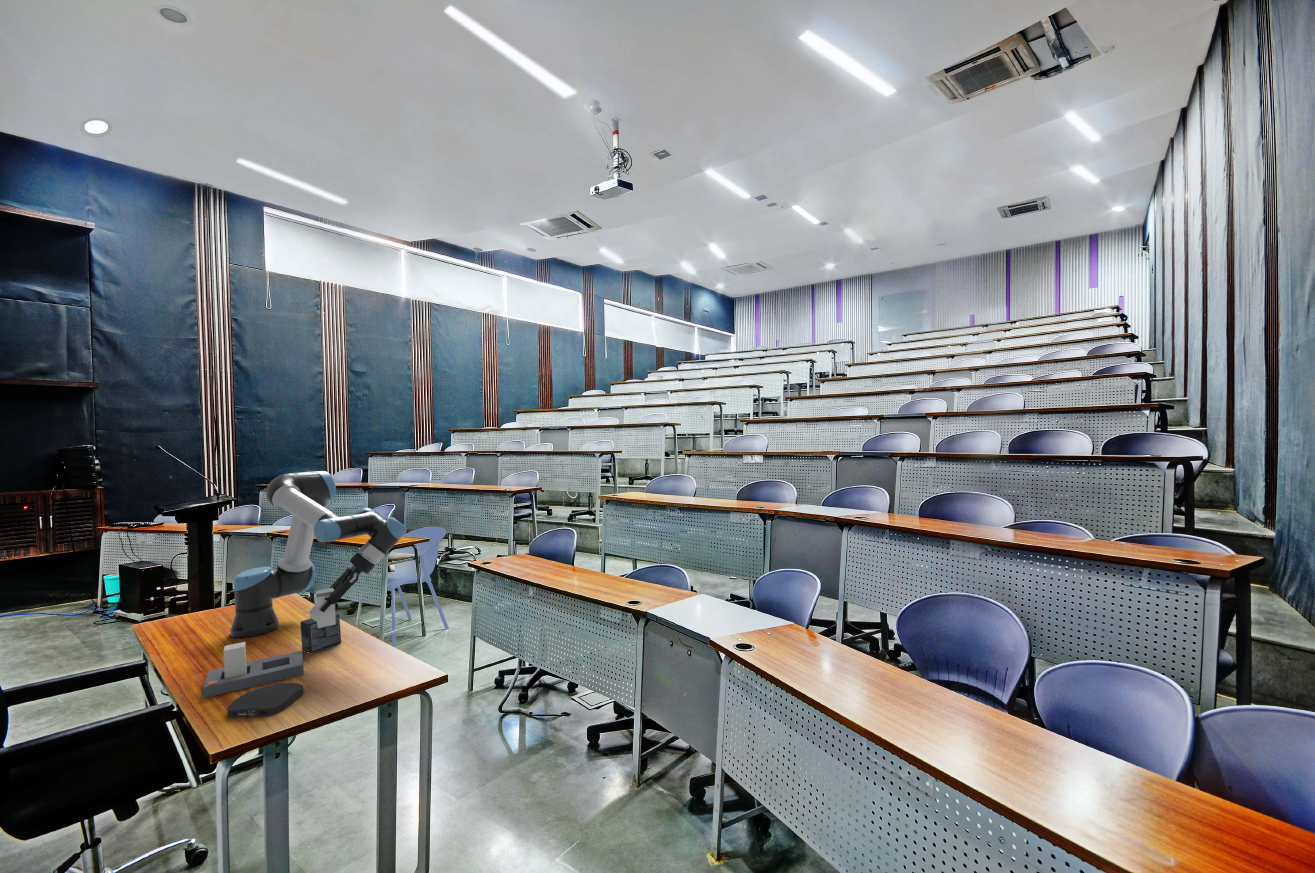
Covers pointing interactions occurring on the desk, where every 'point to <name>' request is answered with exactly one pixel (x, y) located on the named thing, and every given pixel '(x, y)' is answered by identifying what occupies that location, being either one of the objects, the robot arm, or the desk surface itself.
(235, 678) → the gray slotted dock
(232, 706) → the media streaming box
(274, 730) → the desk surface
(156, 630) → the desk surface
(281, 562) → the robot arm
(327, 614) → the white plug
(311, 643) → the small box
